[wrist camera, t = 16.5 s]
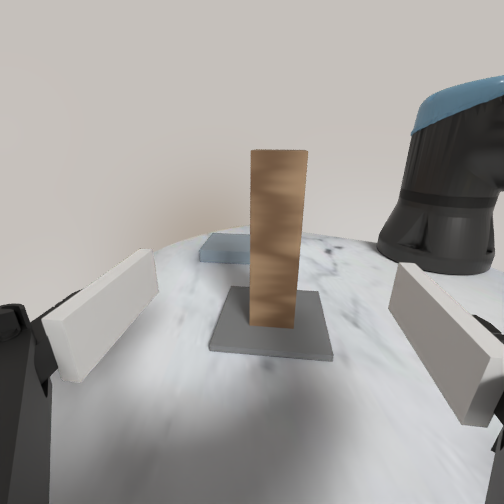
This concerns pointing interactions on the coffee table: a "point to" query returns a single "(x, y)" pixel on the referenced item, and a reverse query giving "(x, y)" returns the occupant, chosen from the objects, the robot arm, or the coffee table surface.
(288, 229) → the tall wooden pillar
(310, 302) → the plate
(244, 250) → the tile
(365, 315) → the coffee table surface
